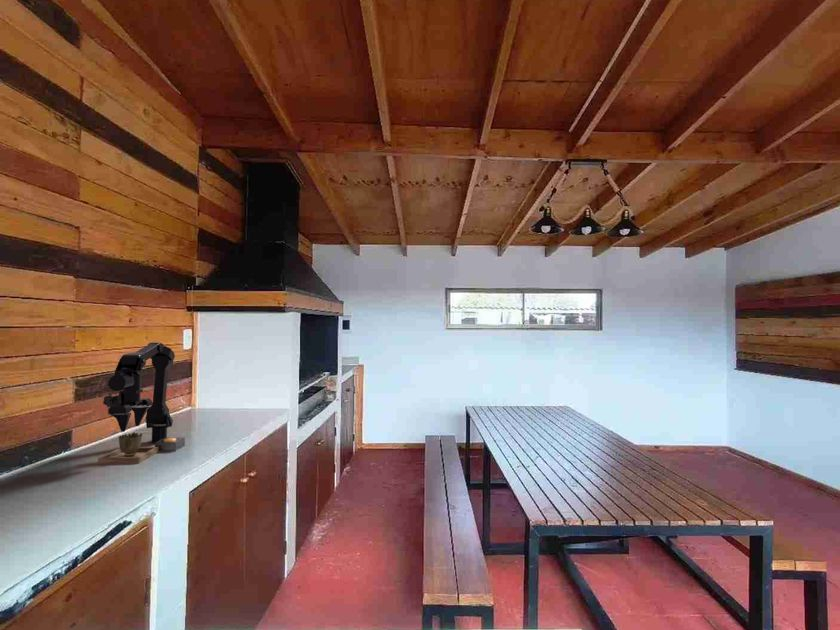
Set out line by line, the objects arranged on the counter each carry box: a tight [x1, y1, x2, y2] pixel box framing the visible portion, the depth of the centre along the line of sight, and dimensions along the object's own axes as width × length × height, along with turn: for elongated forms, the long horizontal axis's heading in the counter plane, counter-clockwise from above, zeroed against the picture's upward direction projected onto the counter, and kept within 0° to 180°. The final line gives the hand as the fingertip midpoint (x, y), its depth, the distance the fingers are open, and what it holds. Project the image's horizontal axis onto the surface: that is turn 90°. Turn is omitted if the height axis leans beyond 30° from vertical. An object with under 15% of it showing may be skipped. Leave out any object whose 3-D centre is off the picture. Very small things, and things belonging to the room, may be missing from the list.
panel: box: [154, 436, 186, 452], centre depth 175 cm, size 8×8×4 cm
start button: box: [164, 437, 176, 442], centre depth 175 cm, size 4×4×2 cm
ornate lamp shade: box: [118, 432, 143, 457], centre depth 162 cm, size 8×7×8 cm
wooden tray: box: [97, 446, 160, 465], centre depth 162 cm, size 14×14×2 cm
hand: (130, 428), depth 162 cm, fingers open, 9 cm apart
